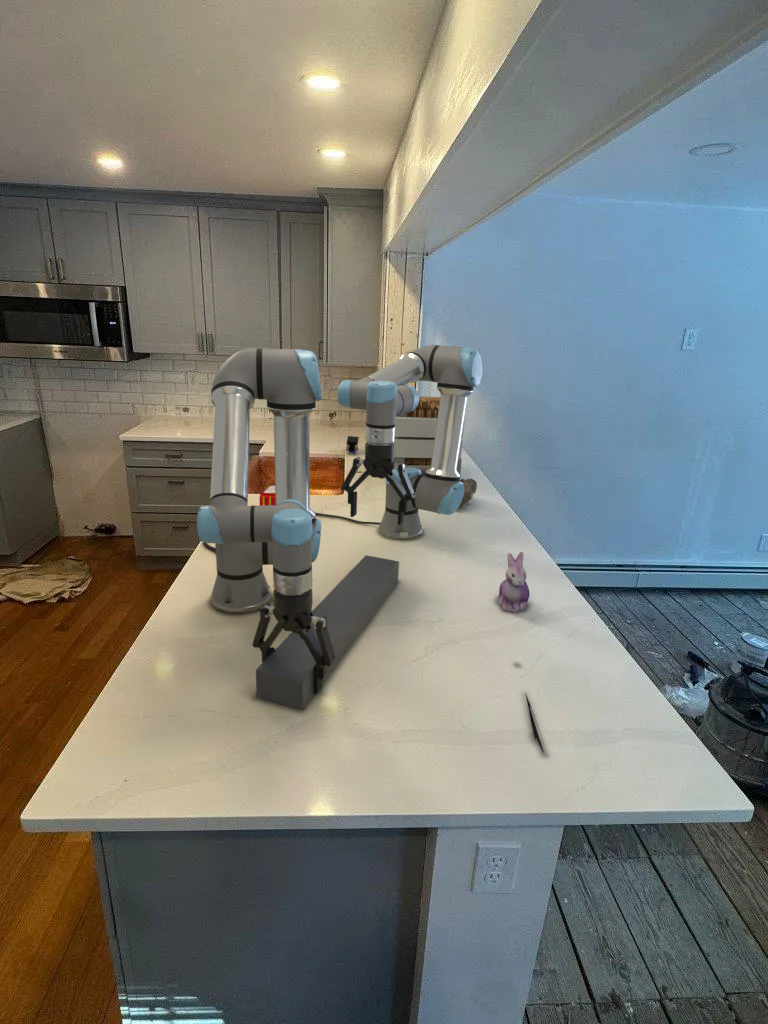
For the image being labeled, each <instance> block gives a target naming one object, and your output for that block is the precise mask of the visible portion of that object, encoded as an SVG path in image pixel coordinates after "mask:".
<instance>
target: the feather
mask: <svg viewBox="0 0 768 1024" xmlns="http://www.w3.org/2000/svg"><path fill="white" fill-rule="evenodd" d="M525 697H526V698H525V699H526V703H527V708H528V714H529V719H530V723H531V728H532V733H533V738H534V740H537V742H538V744H539V746H540V749H541V751H542V753H545V751H544V749H543V746H542V741H541V739H543V737H544V736H543V734H541V735H542V736H539V733H542V730H541V729H539V731H538V728H539V727H540V725H539V723H538V721H537V719H536V716H535V713H534V711H533V708H532V705H531V703H530V700H529V697H528V694H527V692H526V691H525ZM536 725H537V726H536ZM540 737H541V739H540ZM544 744H545V743H544ZM544 746H547V745H546V744H545V745H544Z"/></svg>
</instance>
